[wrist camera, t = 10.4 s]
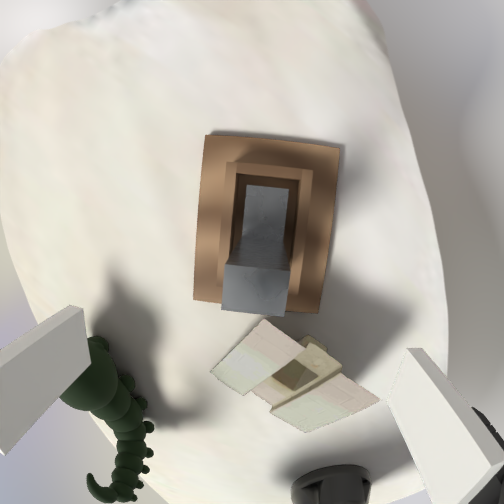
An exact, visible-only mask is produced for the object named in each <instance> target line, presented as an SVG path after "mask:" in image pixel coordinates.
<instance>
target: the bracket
mask: <svg viewBox="0 0 504 504" xmlns="http://www.w3.org/2000/svg"><path fill="white" fill-rule="evenodd" d="M288 193H289V189H283V188H274V187H265V186H255V185H247V188H246V198H245V209H244V219H243V230H242V237H241V239H240V240H239V242H238V243H237V245H236V247H235V248H234V250H233V251H232V253H231V255H230V256H229V258H228V260H227V261H226V263H225V266H224V279H223V293H222V307H221V310H227V311H235V312H244V313H252V314H261V315H271V316H281V317H284V315H285V309H286V302H287V295H288V288H289V281H290V274H291V270H290V266H289V262H288V258H287V254H286V250H285V246H284V242H283V238H284V229H285V220H286V211H287V202H288Z"/></svg>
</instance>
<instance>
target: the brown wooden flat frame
mask: <svg viewBox="0 0 504 504" xmlns="http://www.w3.org/2000/svg"><path fill="white" fill-rule="evenodd" d="M339 153H340V148H335V147H328V146H322V145H315V144H308V143H300V142H292V141H283V140H274V139H263V138H252V137H238V136H221V135H205V141H204V150H203V160H202V170H201V181H200V193H199V205H198V218H197V233H196V249H195V268H194V292H193V300H198V301H205V302H213V303H221V304H222V293H223V279H224V266H225V263H226V261H227V260H228V258H229V256H230V255H231V253H232V251H233V250H234V248H235V247H236V245H237V243H238V242H239V240H240V239H241V237H242V230H243V219H244V209H245V198H246V188H247V185H255V186H265V187H274V188H283V189H289V193H288V202H287V211H286V220H285V229H284V238H283V242H284V246H285V250H286V254H287V258H288V262H289V266H290V270H291V274H290V281H289V288H288V295H287V302H286V309H285V311H294V312H305V313H317V314H318V310H319V305H320V299H321V294H322V288H323V282H324V276H325V270H326V263H327V257H328V250H329V243H330V236H331V228H332V221H333V213H334V204H335V195H336V186H337V176H338V165H339Z"/></svg>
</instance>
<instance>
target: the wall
mask: <svg viewBox="0 0 504 504" xmlns="http://www.w3.org/2000/svg"><path fill="white" fill-rule="evenodd" d="M253 329H254V330H252V331H251V332H250V333H249V335H248V336H245V339H243V340H242V341H241V342H240V344H238V345H237V346H236V347H235V348H234V349H233V351H231V352H230V353H229V354H228V356H226V357H225V358H223V361H220V363H219V364H218V365H217V366H216V367H215V368H213V370H211V371H210V372H211V373H212V374H213V375H214V376H215V377H216V378H217V379H218V380H220V381H221V382H223V383H224V384H225V385H227V386H228V387H230V388H232V389H233V390H235V391H236V392H238V393H239V394H241V395H243V396H244V395H245V394H247V393H248V392H249V391H252V392H253V393H254V394H256V395H257V396H259V397H260V398H261V399H263V400H265V401H266V402H268V403H269V404H270V405H272V409H271V410H270V413H271V414H272V415H274V416H276V417H278V418H280V419H282V420H283V421H285V422H287V423H289V424H291V425H293V426H294V427H296V428H297V429H299V430H300V431H304V433H306V432H309V431H310V432H311V431H312V430H315V429H318V428H319V427H322V426H326V425H328V424H330V423H333V422H336V421H338V420H340V419H342V418H346V417H348V416H350V415H352V414H355V413H356V412H358V411H361V410H363V409H364V408H367V407H370V405H373V404H374V403H375V404H376V402H379V401H380V400H381V399H380V398H378V397H377V396H375V395H374V394H372V393H370V392H369V391H368V390H366V389H364V388H363V387H362V386H359V385H358V384H357V383H355V382H354V381H352V380H351V379H348V378H346V376H345V375H343V374H341V370H342V364H340V363H339V362H338V361H336V360H335V359H334V358H333V357H332V356H329V355H328V354H327V348H326V347H325V346H324V345H323V344H321V343H320V342H319V341H317V340H316V339H314V338H313V337H311V336H310V335H306V336H305V337H303V338H302V339H301V340H300V341H299V342H298V343H297V342H296V341H294V340H293V339H291V338H290V337H288V335H286V334H284V332H282V331H280V330H278V328H276V327H275V326H273V325H272V324H271V323H270V322H268V321H267V320H266V319H263V320H262V321H261V322H259V325H258V326H257V327H254V328H253Z"/></svg>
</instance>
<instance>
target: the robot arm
mask: <svg viewBox="0 0 504 504" xmlns="http://www.w3.org/2000/svg"><path fill="white" fill-rule="evenodd" d="M90 364H91V359H90V354H89V348H88V342H87V335H86V328H85V320H84V311H83V308H79V307H76V306H72V305H69V306H67V307H66V308H64V309H62V310H61V311H59V312H58V313H56V314H54V315H53V316H51V317H50V318H48V319H47V320H45V321H43V322H42V323H40V324H39V325H37V326H36V327H34V328H33V329H31V330H30V331H28V332H27V333H25V334H23V335H22V336H20V337H19V338H18V339H16V340H14V341H13V342H11V343H10V344H8V345H7V346H6V347H4V348H3V349H0V453H2V454H3V455H5V456H6V455H7V453H8V452H9V451H10V450H11V449H12V448H13V447H14V446H15V445H16V443H17V442H18V441H19V440H20V439H21V438H22V437H23V436H24V434H25V433H26V432H27V431H28V430H29V429H30V428H31V427H32V426H33V425H34V423H35V422H36V421H37V420H38V419H39V418H40V417H41V416H42V415H43V414H44V413H45V411H46V410H47V409H48V408H49V407H50V406H51V405H52V404H53V403H54V402H55V401H56V400H57V399H58V397H60V395H61V394H62V393H63V392H64V391H65V390H66V389H67V388H68V387H69V386H70V385H71V384H72V383H73V382H74V381H75V380H76V379H77V378H78V377H79V376H80V375H81V374H82V372H83V371H84V370H85V369H86V368H87V367H88V366H89V365H90ZM386 402H387V404H388V406H389V408H390V410H391V412H392V415H393V417H394V419H395V421H396V423H397V425H398V427H399V429H400V431H401V434H402V436H403V438H404V440H405V442H406V444H407V447H408V449H409V451H410V453H411V455H412V458H413V460H414V462H415V464H416V467H417V469H418V471H419V474H420V476H421V478H422V481H423V483H424V485H425V488H426V490H427V492H428V495H429V497H430V499H431V502H432V504H504V441H503V439H502V438H501V436H500V435H499V434H498V432H496V430H495V428H494V427H493V426H492V425H490V422H489V421H488V419H487V418H486V417H485V416H484V414H482V413H481V412H480V411H478V410H477V409H475V408H474V407H470V406H469V404H468V403H467V402H466V400H465V399H464V398H463V397H462V395H461V394H460V393H459V392H458V390H457V389H456V388H455V387H454V386H453V384H452V383H451V382H450V381H449V379H448V378H447V377H446V376H445V375H444V373H443V372H442V371H441V370H440V369H439V367H438V366H437V365H436V364H435V363H434V362H433V360H432V359H431V358H430V357H429V356H428V355H427V353H426V352H425V351H424V350H423V349H422V348H407V349H406V352H405V355H404V358H403V360H402V363H401V366H400V369H399V371H398V374H397V376H396V379H395V382H394V384H393V387H392V389H391V391H390V394H389V396H388V399H387V401H386ZM370 491H371V479H370V475H369V472H368V471H367V470H366V469H364V468H362V467H359V466H354V465H339V466H332V467H327V468H322V469H319V470H316V471H313V472H311V473H308V474H306V475H304V476H302V477H301V478H299V479H298V480H297V481H296V482H295V483H294V484H293V485H292V487H291V499H292V502H293V504H368V503H369V497H370Z"/></svg>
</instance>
